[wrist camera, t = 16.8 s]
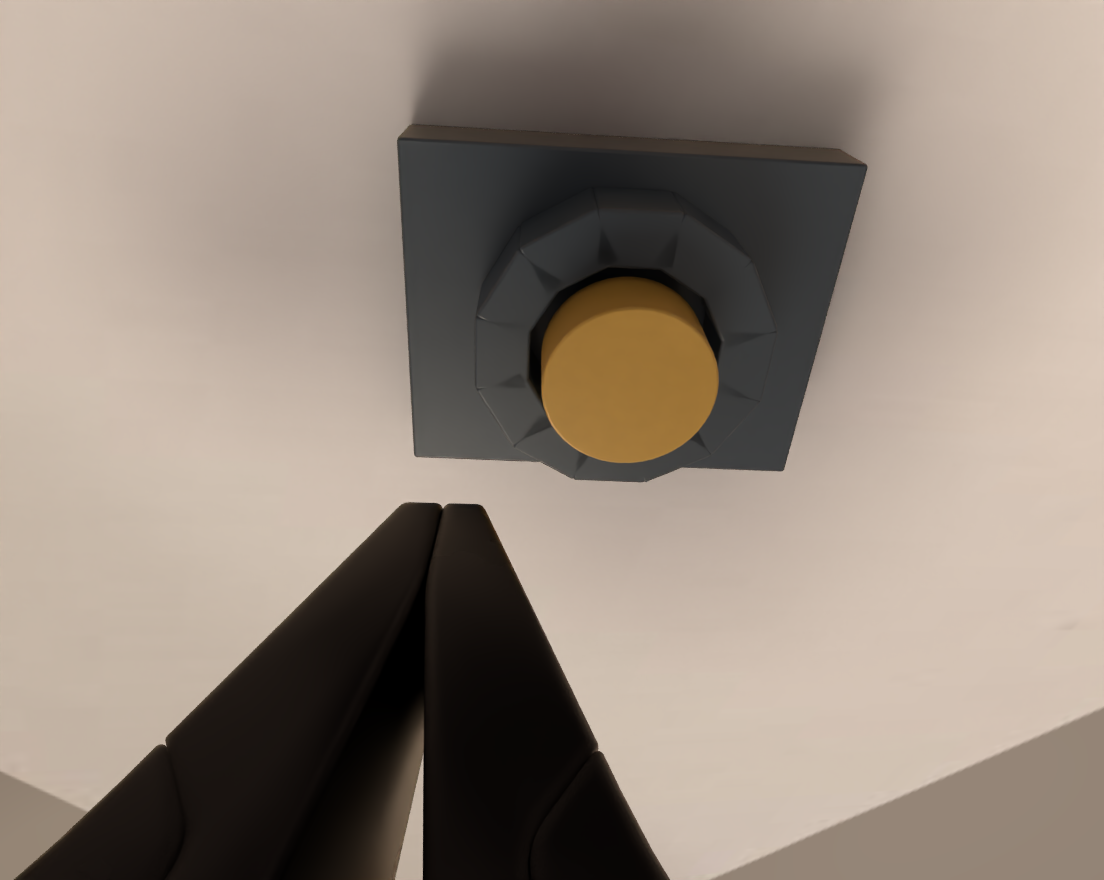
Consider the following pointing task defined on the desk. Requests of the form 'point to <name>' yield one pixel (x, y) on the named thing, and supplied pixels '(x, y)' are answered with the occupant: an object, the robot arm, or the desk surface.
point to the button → (627, 370)
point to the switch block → (607, 252)
